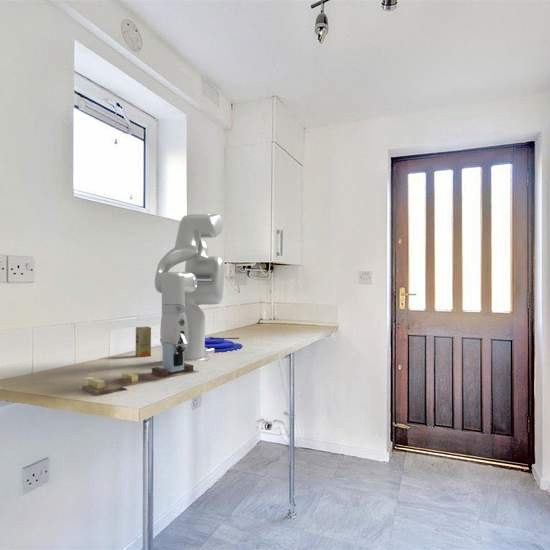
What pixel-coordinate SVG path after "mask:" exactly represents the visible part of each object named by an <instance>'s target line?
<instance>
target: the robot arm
mask: <svg viewBox="0 0 550 550" xmlns="http://www.w3.org/2000/svg"><path fill="white" fill-rule="evenodd" d="M223 227H224V221H223V218H222V216H221V215H220V214H218V213H205V214H204V213H202V214H201V213H198V214H197V213H196V214H195V213H193V214H192V213H191V214H187V215H183V216H182V218H181V220H180V221H179V225H178V230H177V235H176V239H175V240H176V241H175V244H174V247H173V248H172V249H170V250H169V251H168V252H167V253H165V254H164V255H163V257H162V258H161V259H160V260H159V263H158V264H157V268H156V272H155V277H154V287H155V290H156V291H157V292H158V293H160V294H161V319H160V339H159V342H160V344H161V346H162V347H163V343H169V344H173V345H174V350H175V354H174V366H175V367H176V366H181V365H183V353H184V362H197V361H198V362H199V361H205V362H208V361H209V356H208V355H209V354H214V348H211V349H207V348H205V338H206V332H205V331H206V315H205V313H204V311H203V310H202V308H201V307H200V305H218V304H220V303H221V302H222V300H223V297H224V295H223V294H224V284H225V283H224V282H225V281H224V280H225V262H224V261H223V259H222V258H221V257H220V256H215V255H214V256H210V255H209V256H208V254H209V252H208V251H209V248H208V245H207V243H206V242H205V240H204V239H210V238H211V239H212V238H216V237H218V236H220V235H221V233H222V231H223ZM184 262H185V265H184V271H182V272H181V271H170V270H171V269H172V268H174V267H175V266H177V265H179V264H181V263H184ZM178 342H180V344H178ZM177 346H179V348H178V347H177Z"/></svg>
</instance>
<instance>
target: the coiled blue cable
mask: <svg viewBox="0 0 550 550" xmlns="http://www.w3.org/2000/svg"><path fill="white" fill-rule="evenodd" d="M236 339H237V340H238V339H240V337H213V336H208V337H205V348H207V349H211V348H214V353H215V354H216V353H217V354H218V353H219V352H221V353H228V352H227V351H230V352H234V351H233V350H235V351H238V350H237V349H239V350H241V348H242V347H243V345H242V344H241V343H238V342H234V341H232V340H236ZM242 349H243V348H242ZM214 353H213V354H214ZM219 354H220V353H219Z"/></svg>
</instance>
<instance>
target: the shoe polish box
mask: <svg viewBox="0 0 550 550" xmlns="http://www.w3.org/2000/svg"><path fill="white" fill-rule="evenodd" d="M151 348H152V327H150V326H149V325H148V326H136V327H135V357H138V358H143V357H144V358H145V357H152V354H151V353H152V351H151V350H152V349H151Z"/></svg>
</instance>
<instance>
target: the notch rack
mask: <svg viewBox="0 0 550 550" xmlns="http://www.w3.org/2000/svg"><path fill="white" fill-rule="evenodd" d="M199 372H200V371H199V370H195V369H194V364H192V363H185V362H184V370H180V371H175V372H168V371H167V370H166V369H163V367H158V366H157V367H151V372H149V373H144V374H135V373H131V372H129V371H127V372H122V373H121V378H117V379H115V378H114V379H110V380H102V379H99V378H97V377H92V378H88V384H83V385H81V390H84V391H86V392H88V393H89V394H93V395H94V396H102V395H107V394H112V393H117V392H122V391H126V390H128V389H127V388H125V387H129V386H135V385H139V384H144V383H150V382H155V381H159V380H166V379H169V378H174V377H180V376H184V375H190V374H194V373H199Z"/></svg>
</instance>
